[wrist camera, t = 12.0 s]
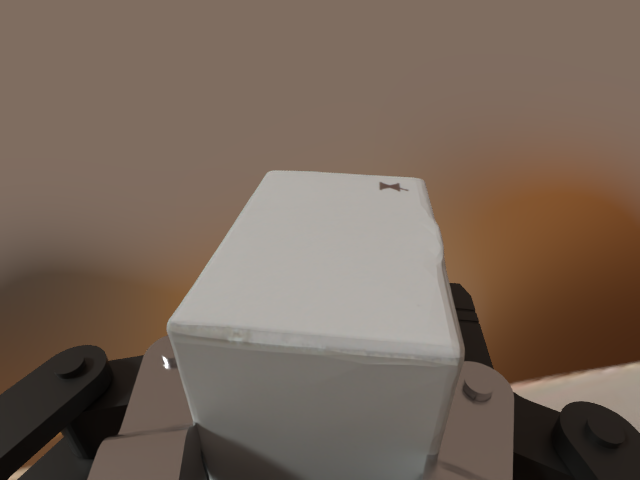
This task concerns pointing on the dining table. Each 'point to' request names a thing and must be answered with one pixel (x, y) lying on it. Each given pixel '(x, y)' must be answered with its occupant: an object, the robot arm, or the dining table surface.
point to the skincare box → (322, 333)
